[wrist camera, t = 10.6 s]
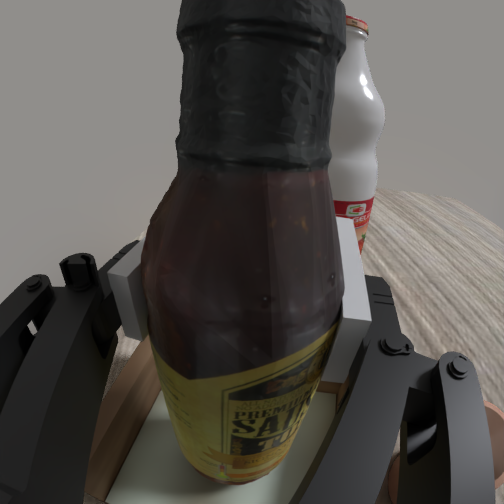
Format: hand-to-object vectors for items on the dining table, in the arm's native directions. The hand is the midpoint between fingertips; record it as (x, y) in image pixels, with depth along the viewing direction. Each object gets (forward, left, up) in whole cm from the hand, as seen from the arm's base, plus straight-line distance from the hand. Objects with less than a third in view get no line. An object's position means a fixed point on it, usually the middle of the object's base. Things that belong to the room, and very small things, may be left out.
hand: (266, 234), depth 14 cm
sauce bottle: (+2, +5, -11) cm, 12 cm away
